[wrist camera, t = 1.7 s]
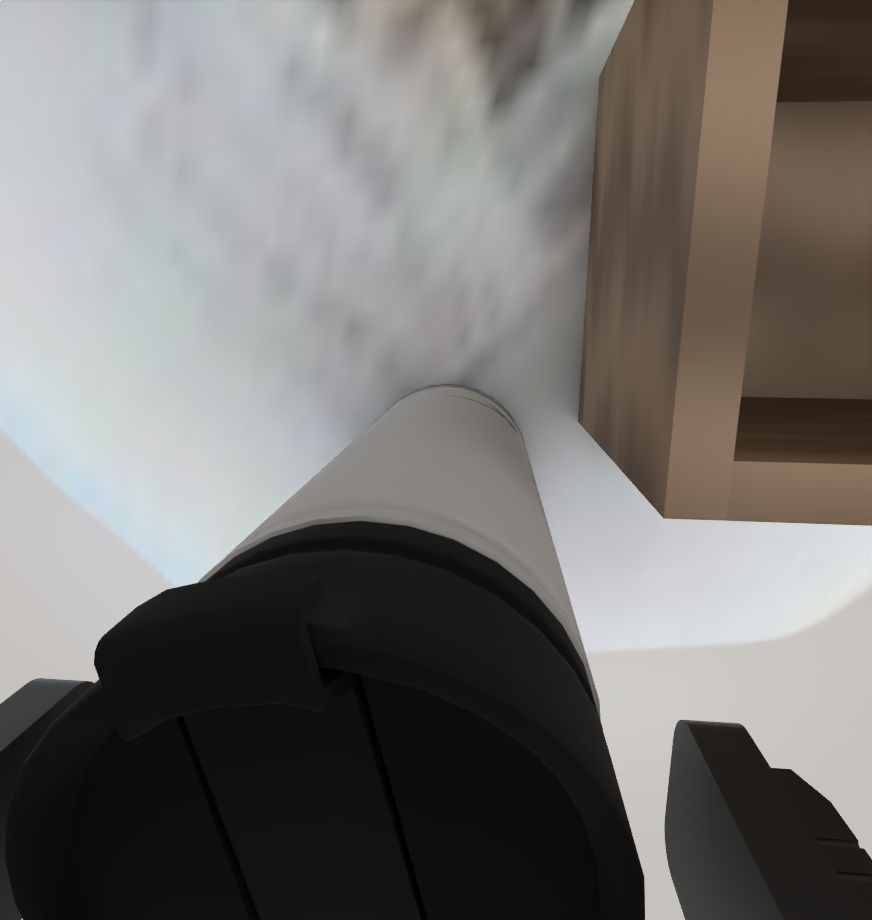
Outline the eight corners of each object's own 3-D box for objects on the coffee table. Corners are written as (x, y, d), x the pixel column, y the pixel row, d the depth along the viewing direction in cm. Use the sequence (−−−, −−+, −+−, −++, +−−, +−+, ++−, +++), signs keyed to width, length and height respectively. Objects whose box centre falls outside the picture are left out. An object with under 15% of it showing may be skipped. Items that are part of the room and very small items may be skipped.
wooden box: (599, 76, 21) (733, -217, 10) (971, 69, 20) (1616, -265, 9) (578, 421, 24) (663, 517, 12) (906, 429, 23) (1333, 541, 11)
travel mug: (509, 359, 24) (605, 544, 4) (539, 522, 25) (717, 1228, 6) (352, 392, 24) (-174, 674, 5) (389, 548, 26) (87, 1248, 6)
